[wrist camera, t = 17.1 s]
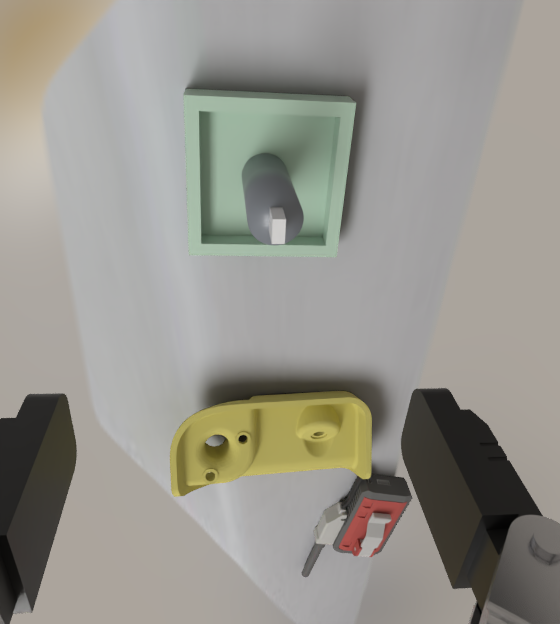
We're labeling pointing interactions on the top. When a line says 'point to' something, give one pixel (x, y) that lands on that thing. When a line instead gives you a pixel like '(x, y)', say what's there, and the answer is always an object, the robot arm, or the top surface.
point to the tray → (274, 140)
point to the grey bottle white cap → (271, 200)
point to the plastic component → (272, 438)
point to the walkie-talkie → (362, 518)
